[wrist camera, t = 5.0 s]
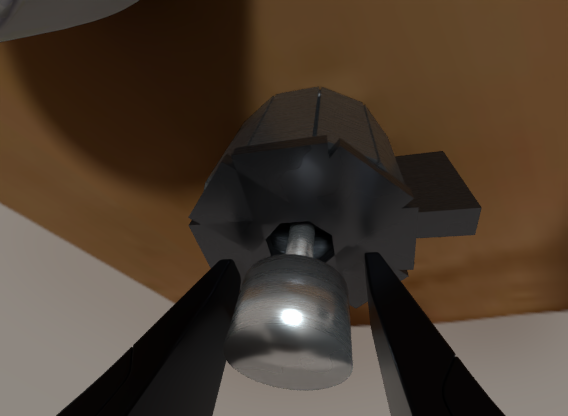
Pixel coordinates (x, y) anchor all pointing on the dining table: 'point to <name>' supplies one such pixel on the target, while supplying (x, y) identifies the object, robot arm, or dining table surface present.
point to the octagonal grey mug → (327, 190)
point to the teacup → (52, 15)
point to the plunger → (292, 319)
